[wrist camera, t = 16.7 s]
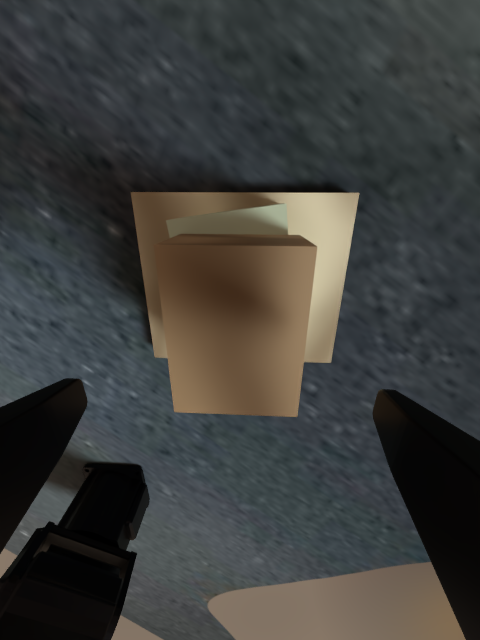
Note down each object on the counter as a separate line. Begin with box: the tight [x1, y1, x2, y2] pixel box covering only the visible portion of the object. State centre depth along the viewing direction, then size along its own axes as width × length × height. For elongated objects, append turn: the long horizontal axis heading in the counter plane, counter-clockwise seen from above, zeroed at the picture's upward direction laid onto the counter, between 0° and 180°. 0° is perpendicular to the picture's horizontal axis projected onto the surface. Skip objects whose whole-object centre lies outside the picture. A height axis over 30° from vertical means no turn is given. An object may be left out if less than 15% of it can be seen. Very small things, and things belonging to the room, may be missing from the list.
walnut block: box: [154, 234, 317, 417], centre depth 13 cm, size 6×8×4 cm
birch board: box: [131, 192, 359, 363], centre depth 19 cm, size 14×12×2 cm
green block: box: [166, 203, 288, 238], centre depth 17 cm, size 6×10×4 cm, turn 7°
